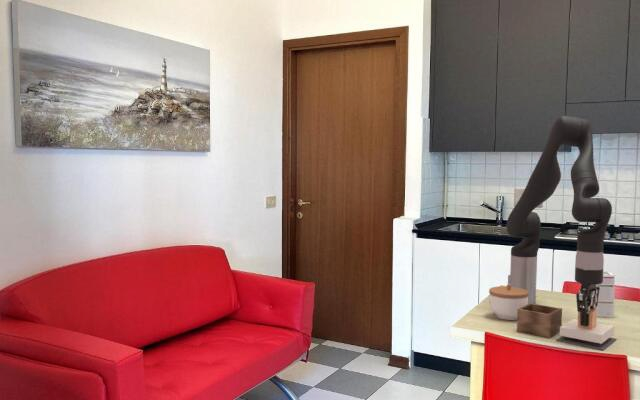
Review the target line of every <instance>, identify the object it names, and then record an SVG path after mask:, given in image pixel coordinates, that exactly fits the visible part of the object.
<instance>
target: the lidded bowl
mask: <svg viewBox="0 0 640 400" xmlns="http://www.w3.org/2000/svg"><path fill="white" fill-rule="evenodd" d="M488 292H489V295H488V296H489V297H488V298H489V305H490V308H491V310H492V312H493V314H495V315H496V318H498V319H500V320H507V321H517V309H519V308H521V307H523V306H525V305H528V295H529V292H528V291H527V290H525V289H522V288H517V287H511V285H510V284H508V283H507V284H506V286H503V285H502V286H501V285H500V286H494V287H490V288H489V290H488Z"/></svg>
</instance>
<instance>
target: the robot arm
mask: <svg viewBox="0 0 640 400" xmlns="http://www.w3.org/2000/svg"><path fill="white" fill-rule="evenodd" d="M593 140H594V138H593V129H592V125H591V122H590V121H589V119H585V118H582V117H575V116H569V115H560V116H559V117H557V118H556V119H555V121H554V123H553V124H552V126H551V129H550V132H549V134H548V136H547V139H546V142H545V146H544V148H543V150H542V152H541V155H540V156H539V159H538V161H537V164H536V165H535V167H534V169H533V171H532V173H531V175H530V177H529V179H528V181H527V183H526V186H525V188H524V189H523V192H522V194H521V196H520V197H519V200H518V201H517V202H516V204H515V205H514V207H513V208H512V211H510V213H509V215H508V218H507V221H506V227H505V228H506V232H507V233H508V235H509V236H511V237H512V238H523V239H522V240H521V242H519V243H518V244H517V243H516V244H515V245H513V246H512V247H511V249H510V267H509V268H510V270H509V272H510V273H509V274H508V275H507V284H510V285H511V287H517V288H522V289H525V290H527V291H528V292H529V295H528V304H530V303H532V304H537V303H536V302H537V276H538V275H537V273H538V253H539V252H538V251H539V248H540V239H541V230H542V227H541V225H542V223H541V218H540V216H539V214H538V213H536V212H534V210H535V209H536V208H538V207H539V206H540V205H542V204H543V203H544V202H546V201H548V200H549V198H551V197H552V196H553V194H554V193H555V191H556V190H557V188H558V185H559V184H560V181H561V177H562V173H561V168H560V165H559V161H558V152H559V149H560V148H561V147H562V146H568V147H574V148H577V149H578V152H579V153H578V154H579V155H578V156H577V158H576V159H575V161H574V163H573V164H572V166H571V169H570V179H571V184H572V188H573V189H572V190H573V199H572V200H573V201H572V207H571V215H572V217H573V219H574V220H575V221H576V222H579V223H594V225H593V227H590V228H588V229H583V230H580V231H578V232H577V235H576V236H577V237H576V238H577V239H576V253H575V261H574V262H575V265H574V281H575V282H576V283H578V284H580V288H579V290H578V291H579V292H576V294H575V296H576V310H577V313H578V312H580V313H581V314H580V325H581V326H586V327H587V326H588V325H589V312H590V309H596V307H597V306H598V297H599V290H600V287H596V285H598V284H602V283H603V272H604V266H605V265H604V262H605V259H604V258H605V257H604V243H605V242H604V241H605V240H604V239H605V235H606V231H607V227H608V225H609V222H610V219H611V217H612V213H613V205H612V204H611V202H610V200H609V199H607V198H604V197H595V196H597V195H598V194H599V192H600V185H599V181H598V177H597V173H596V168H595V163H594V162H595V159H594V141H593ZM528 304H527V305H528ZM583 307H584V308H583Z"/></svg>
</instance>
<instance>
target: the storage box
mask: <svg viewBox="0 0 640 400" xmlns="http://www.w3.org/2000/svg"><path fill="white" fill-rule="evenodd" d="M562 317H563V308H561V307H554V306H549V305H543V304H538V303H533V304H532V303H530V304H527V305H525V306H523V307H521V308H519V309H517V320H516V332H517V333H522V334H527V335H532V336H536V337H537V336H538V337H541V338H542V337H543V338H547V339H550V338H552V337H553V336H555V335H557V334H560V327H561V326H562V325H563V324H562V323H563V322H562V321H563V318H562Z"/></svg>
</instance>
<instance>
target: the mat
mask: <svg viewBox="0 0 640 400" xmlns="http://www.w3.org/2000/svg"><path fill="white" fill-rule="evenodd" d="M555 341H556V342H559V343H563V344H569V345H574V346H578V347H584V348H587V349H588V348H589V349H593V350H598V351H605V350H606V349H607V348H609V347H610V346H611V345H613V343H615V342H616V341H617V338H614V337H612V336H611V337H610V338H608V339H607V340H606V341H604V342H603V343H602V344H600V343H595V342H590V341H585V340H580V339H575V338H570V337H565V336H559V337H558V338H556V339H555Z"/></svg>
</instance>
